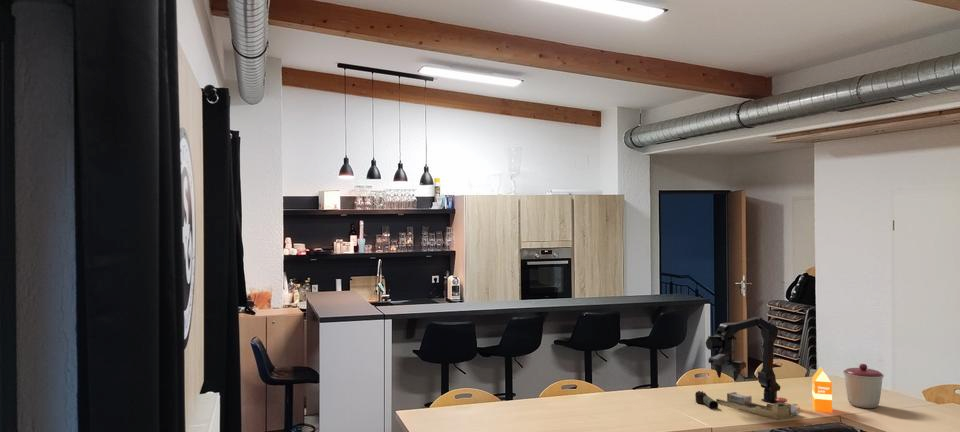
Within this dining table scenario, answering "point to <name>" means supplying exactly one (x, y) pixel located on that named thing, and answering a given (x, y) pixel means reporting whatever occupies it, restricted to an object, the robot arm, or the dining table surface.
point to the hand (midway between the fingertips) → (727, 379)
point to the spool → (739, 399)
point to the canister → (863, 386)
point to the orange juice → (821, 392)
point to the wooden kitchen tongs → (767, 408)
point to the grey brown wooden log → (705, 400)
